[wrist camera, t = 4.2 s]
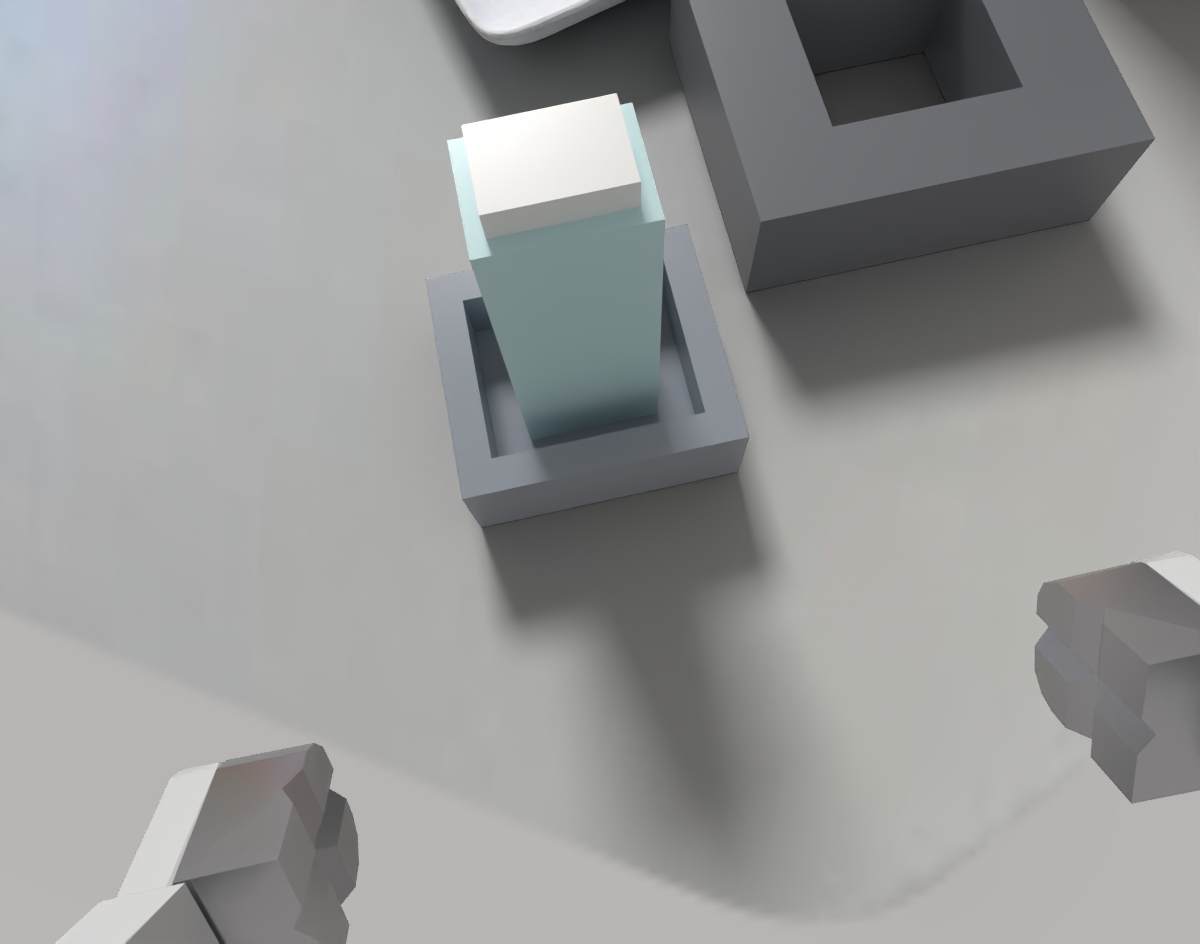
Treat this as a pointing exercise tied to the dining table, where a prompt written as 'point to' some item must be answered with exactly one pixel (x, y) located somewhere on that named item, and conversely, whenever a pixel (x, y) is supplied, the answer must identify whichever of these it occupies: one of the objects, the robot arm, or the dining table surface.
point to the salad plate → (527, 17)
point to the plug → (567, 258)
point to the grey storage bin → (598, 454)
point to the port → (900, 127)
